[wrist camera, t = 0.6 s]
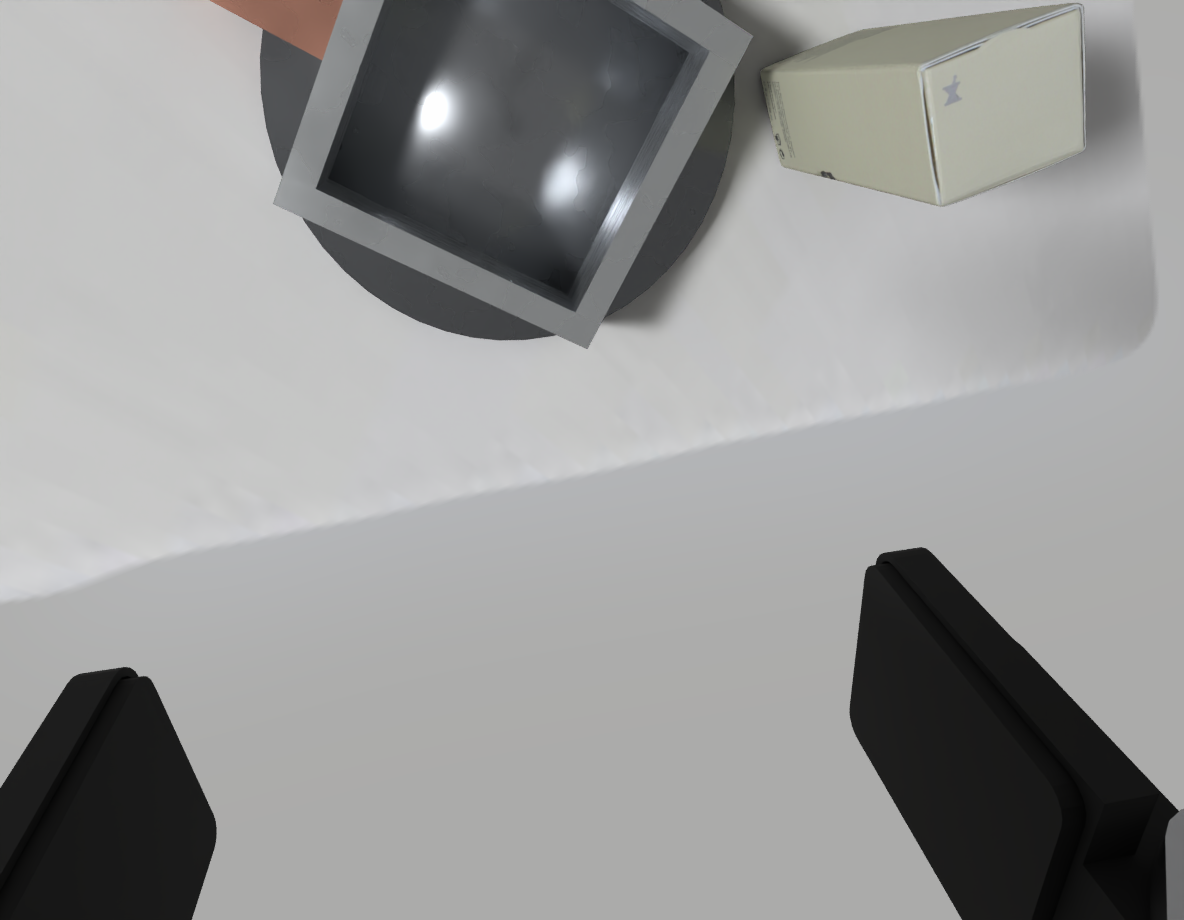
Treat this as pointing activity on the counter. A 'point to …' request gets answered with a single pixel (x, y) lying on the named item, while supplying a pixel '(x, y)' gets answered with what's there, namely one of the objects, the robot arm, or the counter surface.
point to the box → (935, 103)
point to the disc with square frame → (499, 148)
